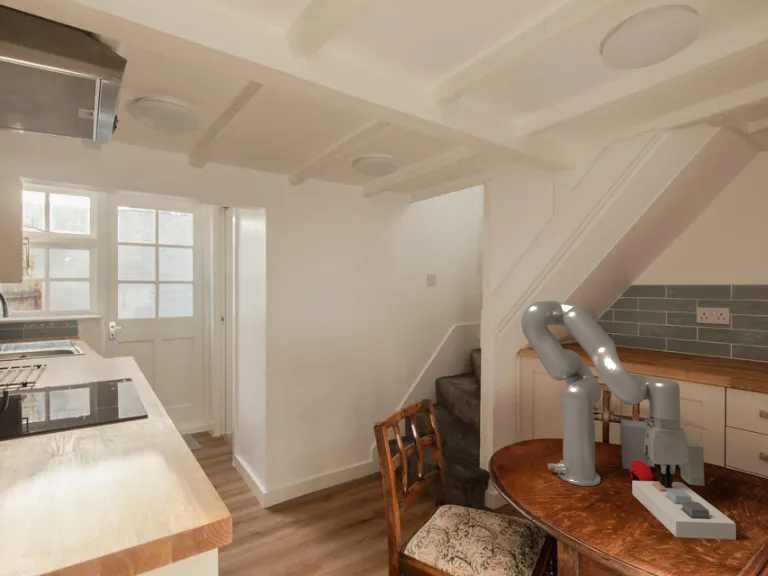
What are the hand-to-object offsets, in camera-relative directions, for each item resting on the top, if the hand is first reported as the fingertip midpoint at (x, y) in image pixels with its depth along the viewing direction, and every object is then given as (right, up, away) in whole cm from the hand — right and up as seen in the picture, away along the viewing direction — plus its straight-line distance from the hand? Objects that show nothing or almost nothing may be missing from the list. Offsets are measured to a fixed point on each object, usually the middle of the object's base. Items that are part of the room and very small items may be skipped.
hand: (665, 485), depth 123 cm
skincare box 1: (+5, -5, +23) cm, 24 cm away
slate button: (-1, -2, -7) cm, 7 cm away
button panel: (-1, -5, -7) cm, 8 cm away
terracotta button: (0, -3, 0) cm, 3 cm away
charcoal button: (-1, -2, -14) cm, 14 cm away
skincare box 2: (+17, -5, +13) cm, 22 cm away
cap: (+1, -5, +13) cm, 14 cm away
